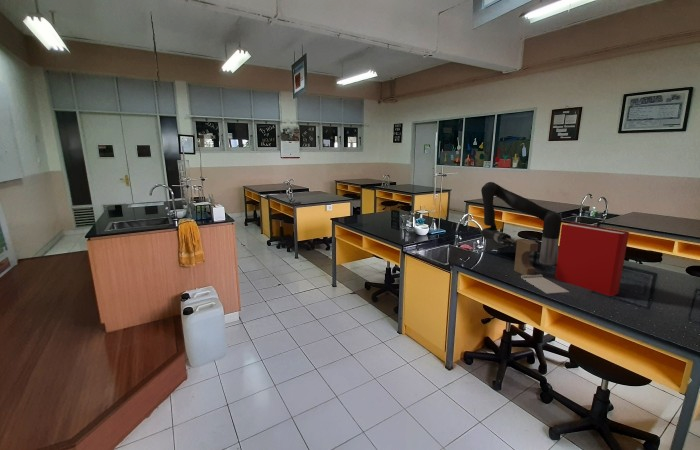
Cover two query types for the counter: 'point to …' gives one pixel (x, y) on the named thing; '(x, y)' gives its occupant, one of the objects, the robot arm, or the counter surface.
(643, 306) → the counter surface
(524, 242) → the decorative block
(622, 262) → the book
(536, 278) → the mat
